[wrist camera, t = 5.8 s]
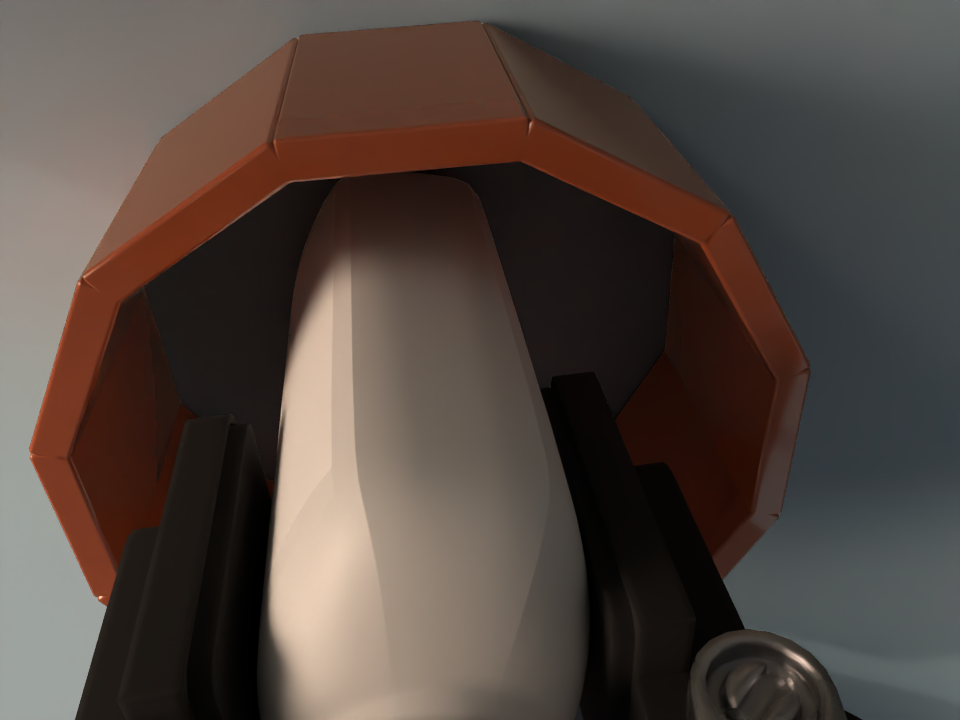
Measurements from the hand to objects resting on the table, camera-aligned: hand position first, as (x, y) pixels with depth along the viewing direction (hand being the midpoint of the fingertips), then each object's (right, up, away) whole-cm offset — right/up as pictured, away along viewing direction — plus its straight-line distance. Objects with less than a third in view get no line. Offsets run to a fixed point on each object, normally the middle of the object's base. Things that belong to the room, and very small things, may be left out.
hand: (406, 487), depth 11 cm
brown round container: (0, +2, +4) cm, 5 cm away
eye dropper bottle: (-1, +3, +4) cm, 5 cm away
